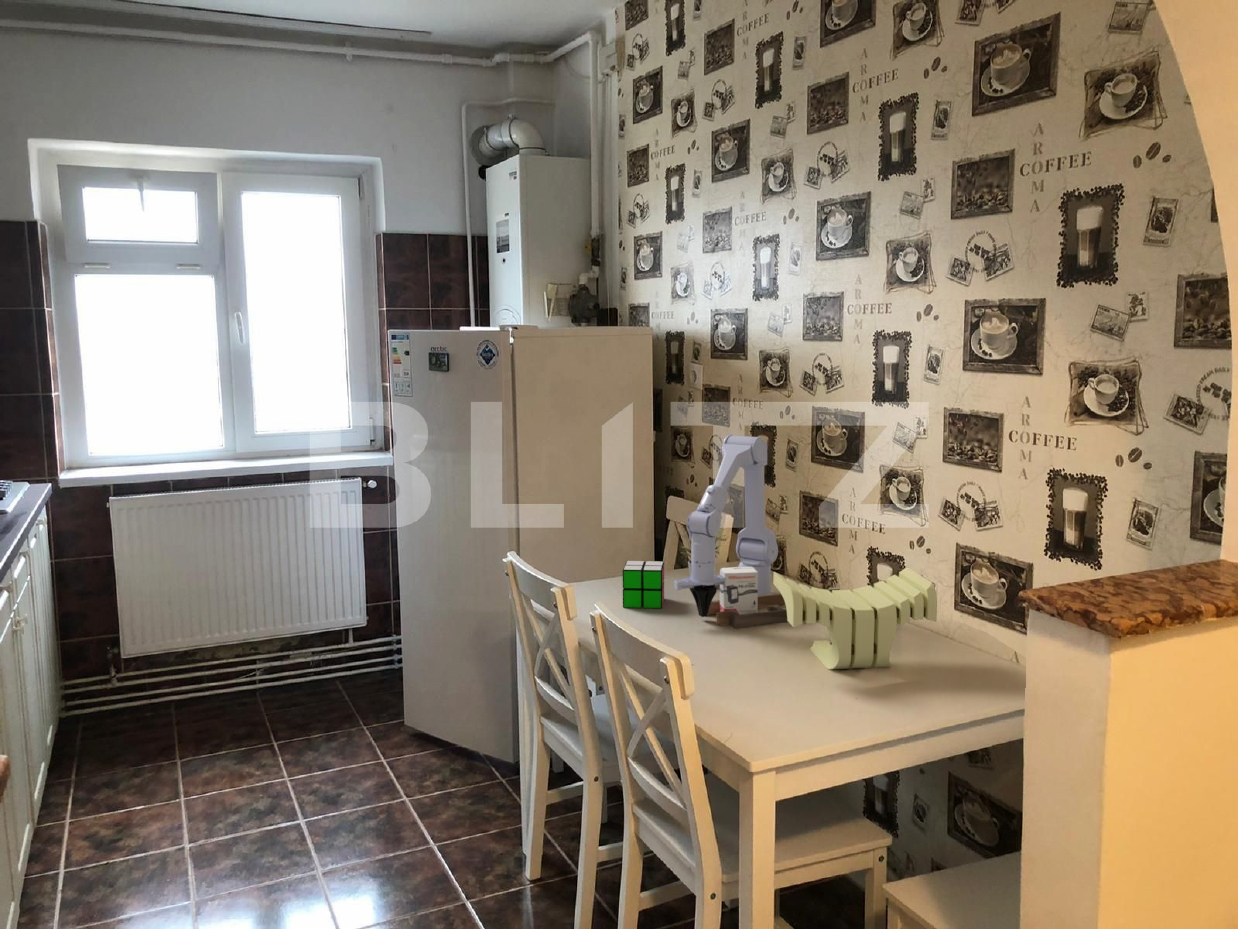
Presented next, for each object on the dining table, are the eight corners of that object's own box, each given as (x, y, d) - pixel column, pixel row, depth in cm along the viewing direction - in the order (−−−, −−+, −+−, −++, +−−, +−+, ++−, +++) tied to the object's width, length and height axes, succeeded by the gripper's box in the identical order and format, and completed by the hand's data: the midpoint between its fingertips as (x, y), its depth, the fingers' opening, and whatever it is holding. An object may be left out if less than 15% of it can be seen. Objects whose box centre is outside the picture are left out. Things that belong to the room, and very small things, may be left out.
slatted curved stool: (792, 676, 200) (793, 590, 198) (772, 650, 216) (773, 571, 214) (934, 670, 203) (937, 586, 201) (904, 645, 219) (907, 567, 217)
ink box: (723, 620, 239) (724, 572, 237) (719, 614, 244) (719, 567, 242) (758, 618, 240) (758, 571, 238) (752, 612, 245) (753, 566, 243)
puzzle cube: (664, 598, 258) (664, 561, 257) (662, 609, 248) (662, 570, 247) (626, 597, 259) (626, 560, 258) (622, 608, 249) (622, 569, 248)
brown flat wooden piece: (700, 614, 244) (700, 602, 243) (808, 601, 255) (808, 589, 254) (726, 630, 231) (726, 617, 230) (839, 615, 242) (839, 603, 241)
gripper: (682, 567, 230) (682, 623, 232) (738, 561, 235) (737, 616, 237) (670, 560, 237) (670, 615, 239) (724, 555, 242) (724, 609, 244)
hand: (702, 615), depth 238 cm, fingers closed
